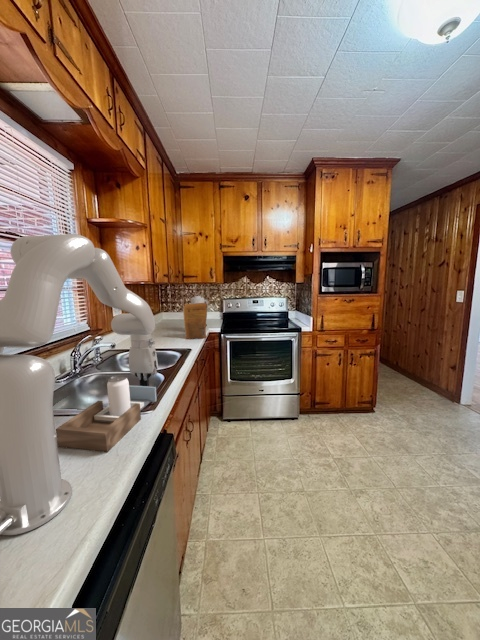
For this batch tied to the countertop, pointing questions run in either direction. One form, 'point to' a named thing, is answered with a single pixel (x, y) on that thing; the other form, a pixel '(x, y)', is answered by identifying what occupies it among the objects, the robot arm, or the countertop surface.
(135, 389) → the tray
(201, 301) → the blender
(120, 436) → the wooden coaster holder
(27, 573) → the countertop surface
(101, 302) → the robot arm
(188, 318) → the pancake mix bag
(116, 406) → the can
